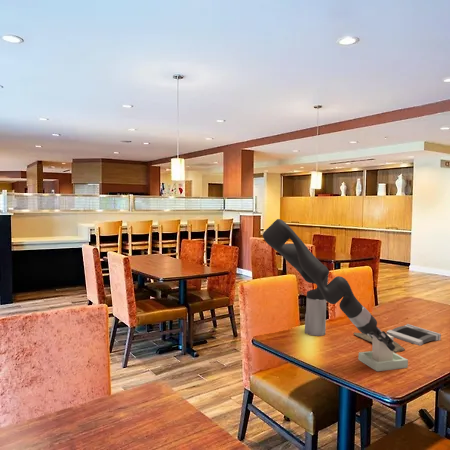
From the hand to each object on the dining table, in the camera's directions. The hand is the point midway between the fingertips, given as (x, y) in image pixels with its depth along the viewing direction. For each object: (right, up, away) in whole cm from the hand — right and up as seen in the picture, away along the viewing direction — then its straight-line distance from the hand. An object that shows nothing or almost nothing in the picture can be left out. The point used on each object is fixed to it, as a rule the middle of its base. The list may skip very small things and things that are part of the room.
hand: (386, 345), depth 156 cm
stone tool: (+7, -7, +24) cm, 26 cm away
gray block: (-1, -6, 0) cm, 6 cm away
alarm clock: (+26, -7, +32) cm, 41 cm away
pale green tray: (-1, -7, 0) cm, 7 cm away
